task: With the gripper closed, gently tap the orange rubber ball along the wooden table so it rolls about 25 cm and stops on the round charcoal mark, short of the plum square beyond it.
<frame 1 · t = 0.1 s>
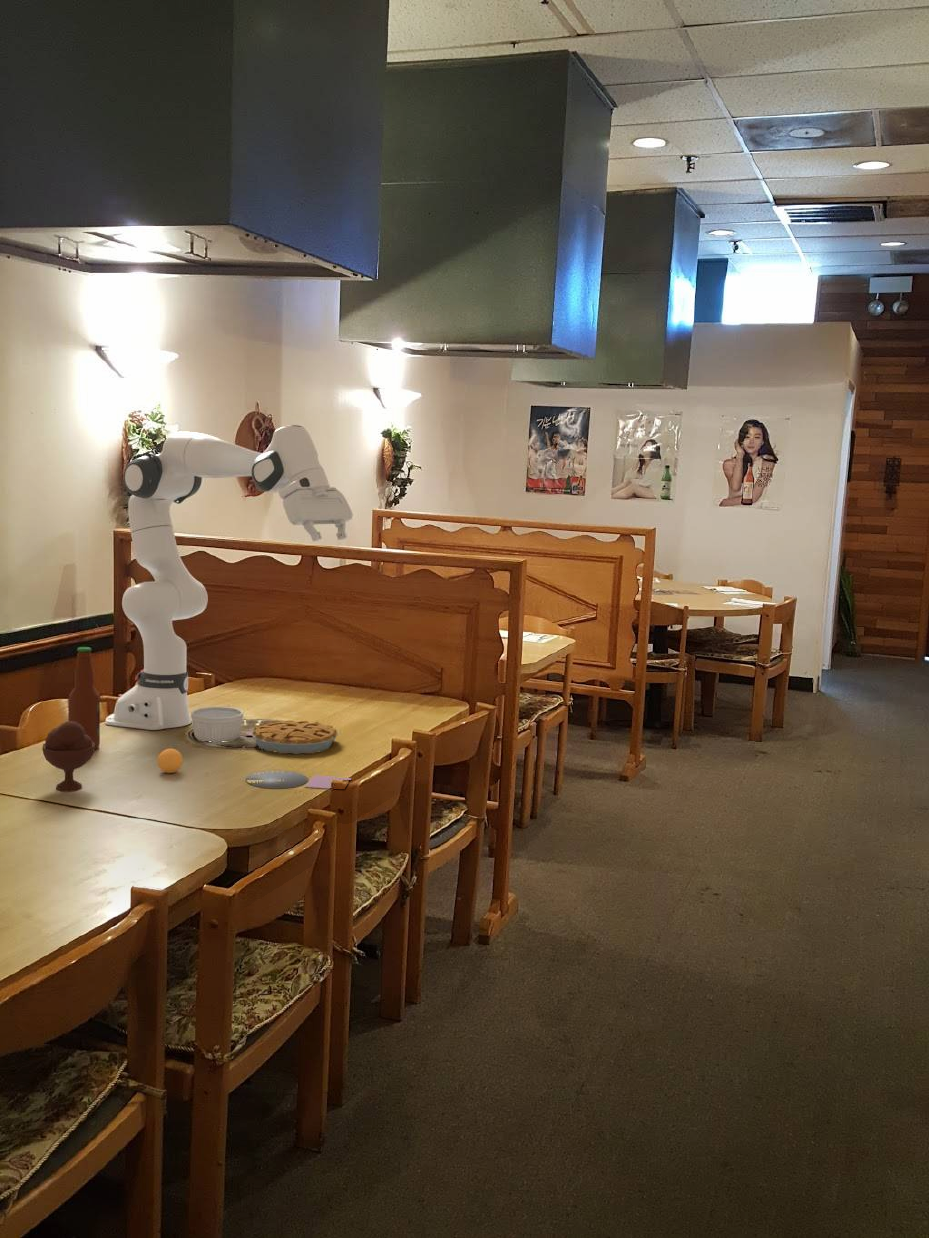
hand: (330, 539, 265), 54 cm above the table, tool tilted 30°, fingers open, 8 cm apart
ramekin: (216, 738, 289), on the table
pie: (294, 746, 285), on the table
bottle: (84, 748, 273), on the table
ball: (170, 760, 255), on the table
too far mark: (328, 783, 253), on the table
ice cream bowl: (69, 788, 240), on the table
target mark: (276, 779, 254), on the table
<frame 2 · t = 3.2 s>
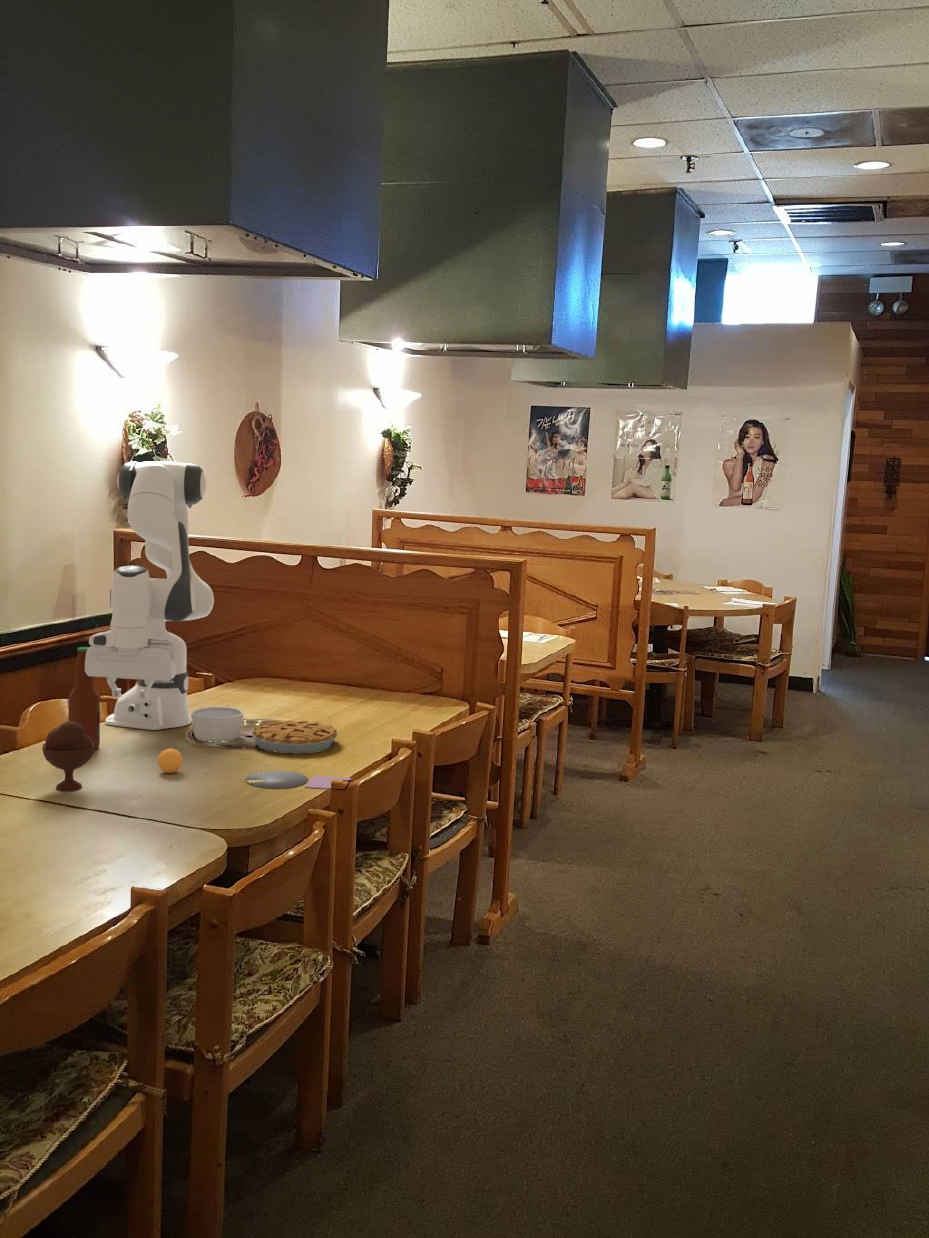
hand: (130, 697, 253), 17 cm above the table, tool pointing down, fingers open, 5 cm apart
nothing on the table moved.
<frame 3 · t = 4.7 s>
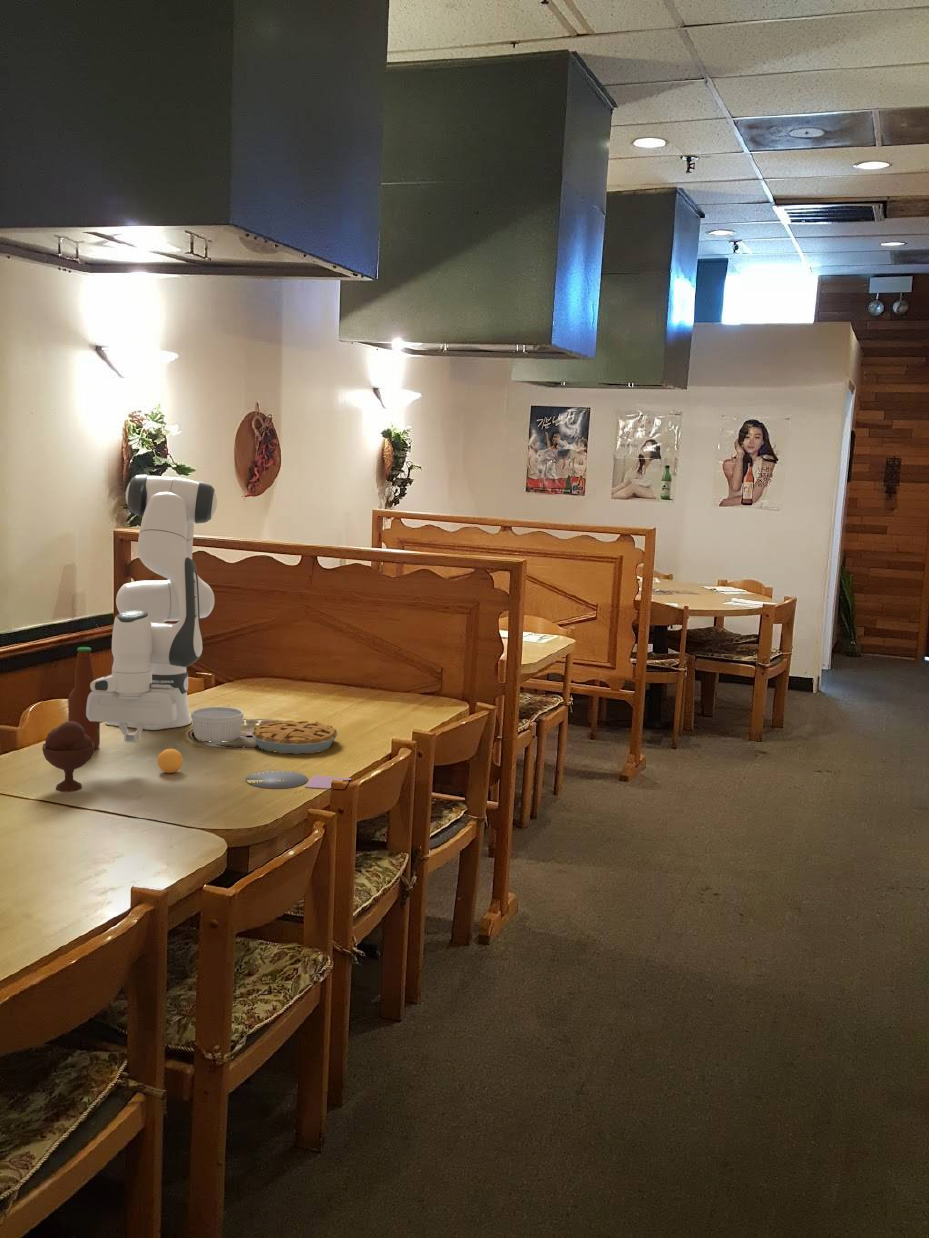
hand: (131, 741, 254), 7 cm above the table, tool pointing down, fingers closed
nothing on the table moved.
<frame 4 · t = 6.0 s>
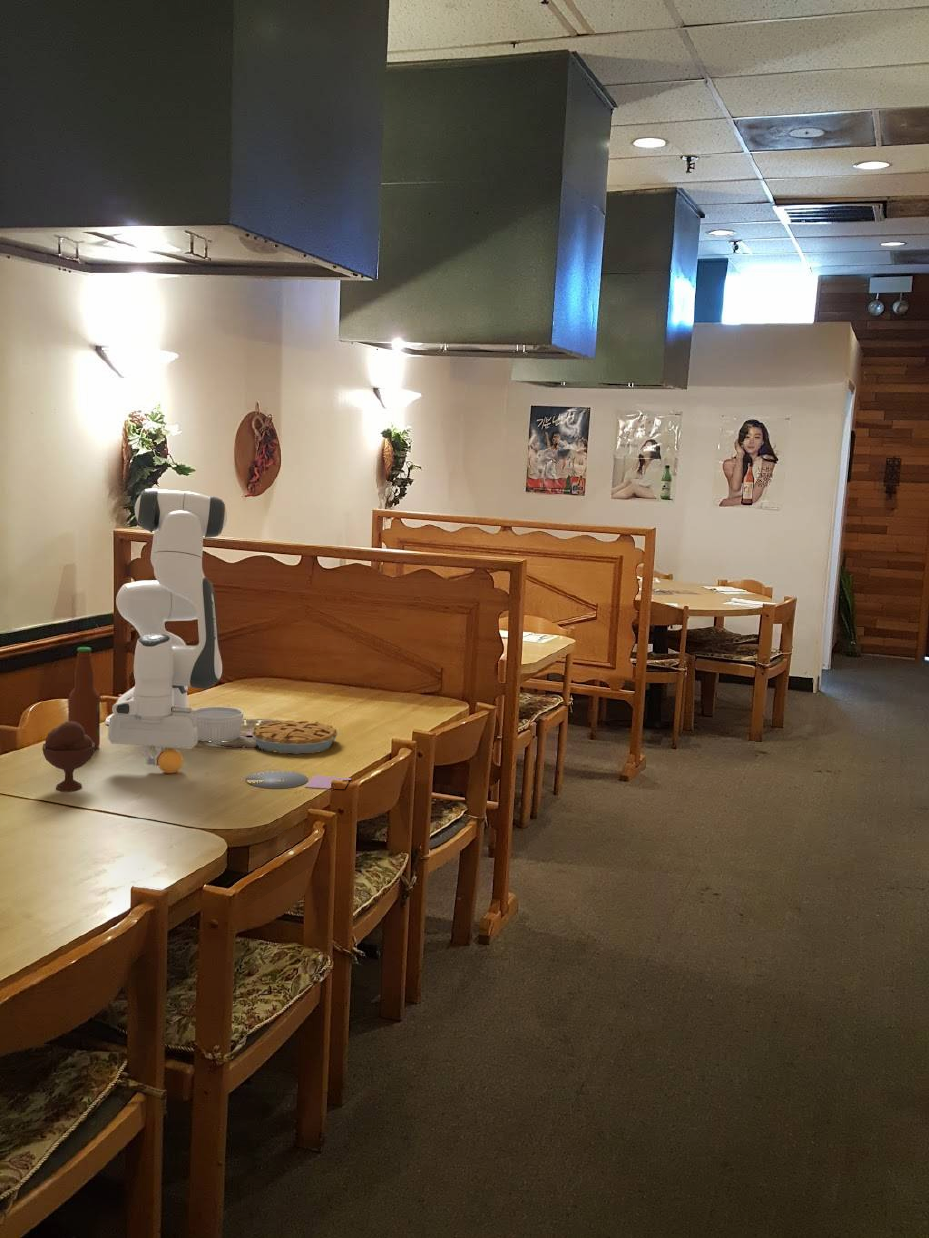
hand: (152, 764, 255), 2 cm above the table, tool pointing down, fingers closed
ball: (170, 761, 255), on the table, touching gripper
everything else where it was.
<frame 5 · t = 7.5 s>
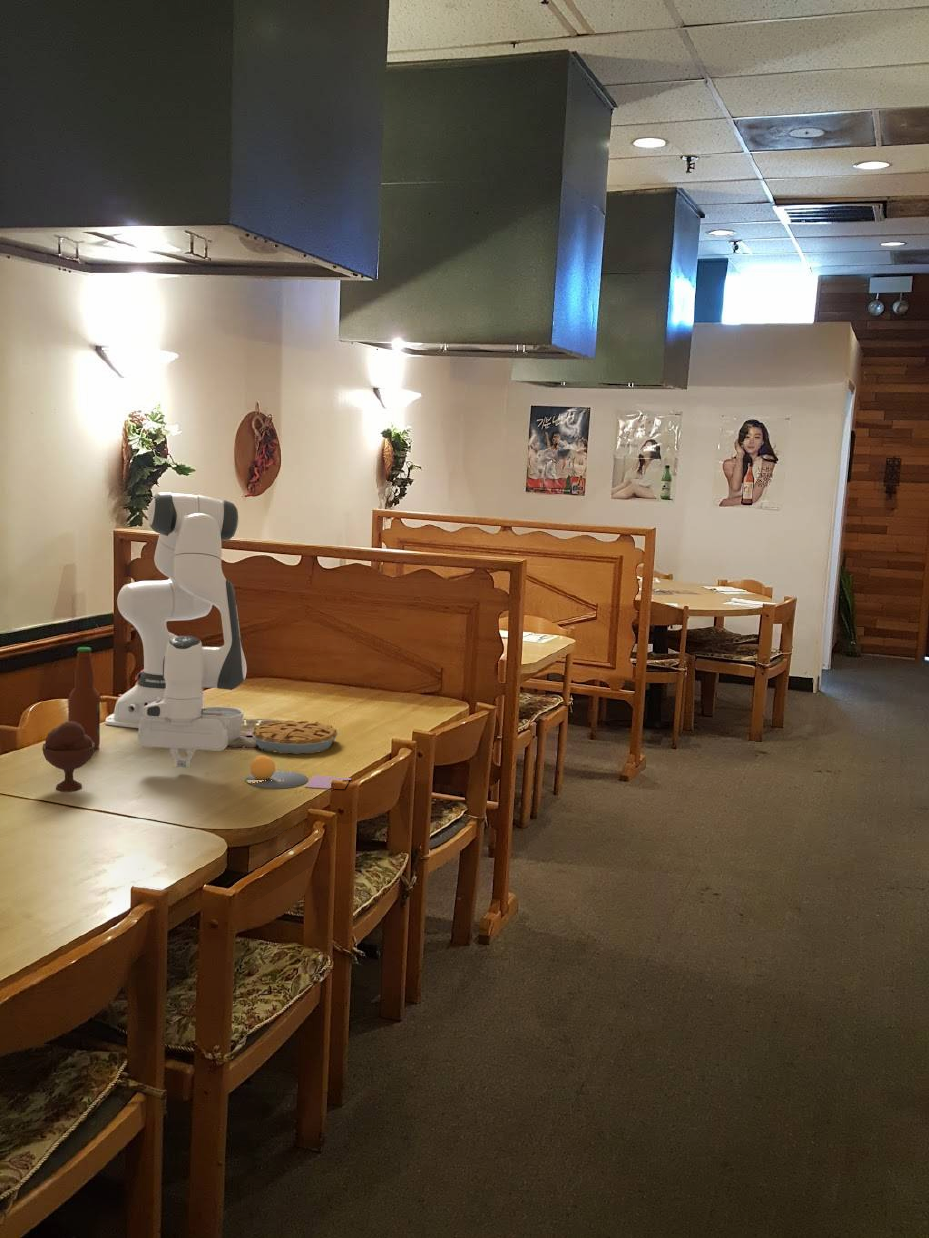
hand: (182, 766, 255), 2 cm above the table, tool pointing down, fingers closed
ball: (262, 767, 253), on the table
everything else where it was.
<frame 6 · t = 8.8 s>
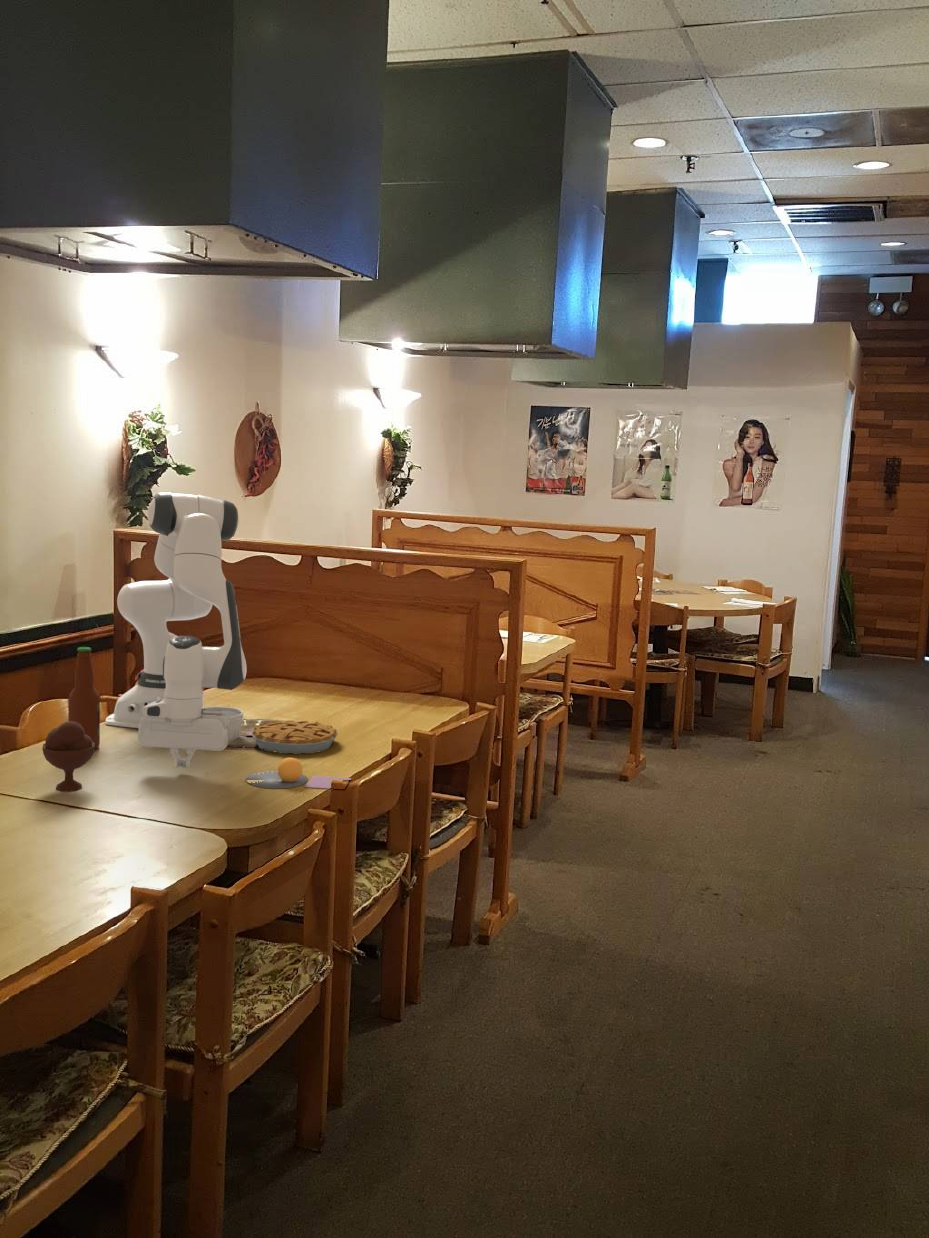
hand: (182, 766, 255), 2 cm above the table, tool pointing down, fingers closed
ball: (290, 769, 252), on the table
everything else where it was.
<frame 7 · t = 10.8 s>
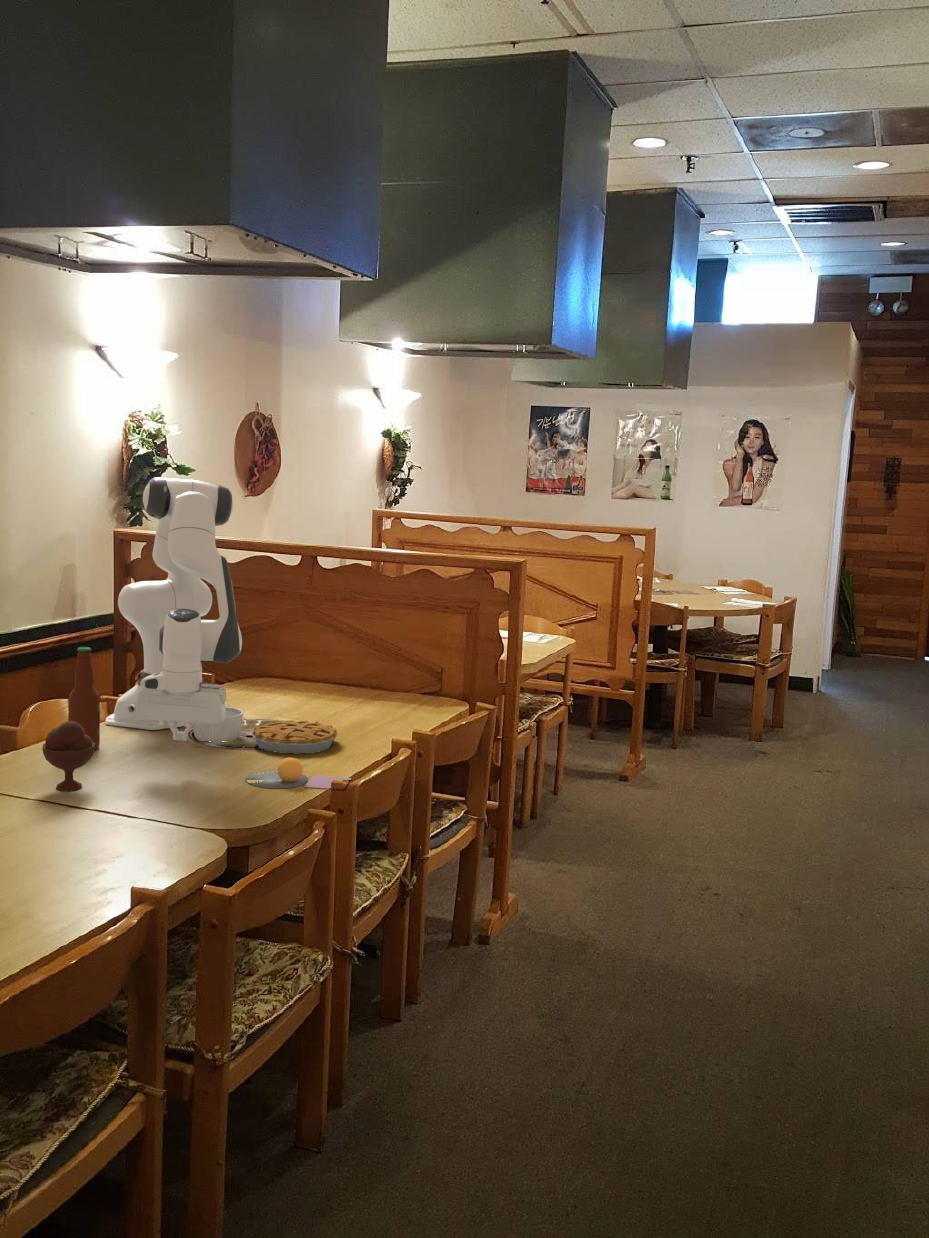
hand: (180, 739, 254), 8 cm above the table, tool pointing down, fingers closed
nothing on the table moved.
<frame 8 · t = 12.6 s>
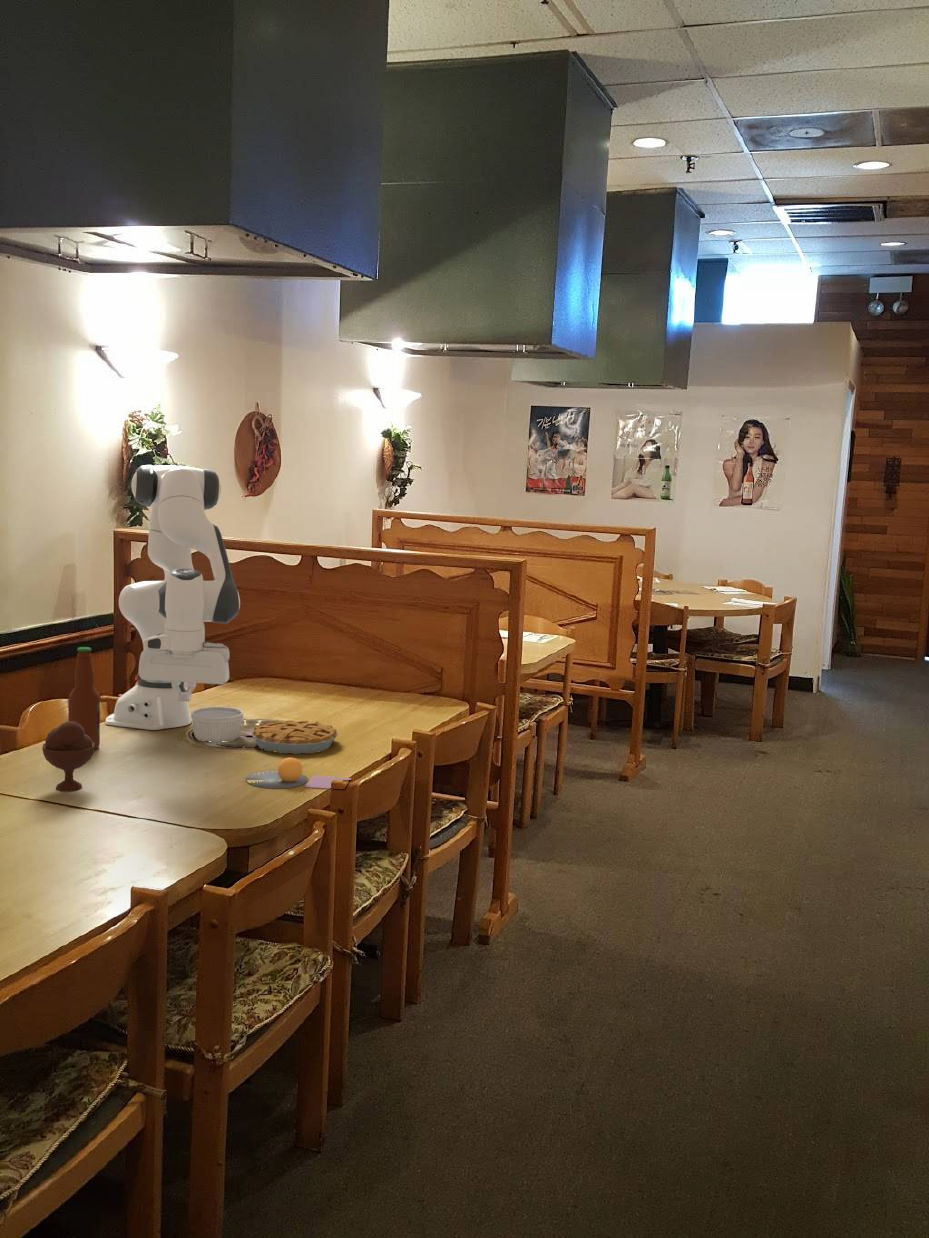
hand: (183, 700, 253), 17 cm above the table, tool pointing down, fingers closed
nothing on the table moved.
at the end: ball 3.3 cm from the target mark (horizontally); ball at rest at the end (0.0 cm/s); ball moved 28.2 cm from its start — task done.
